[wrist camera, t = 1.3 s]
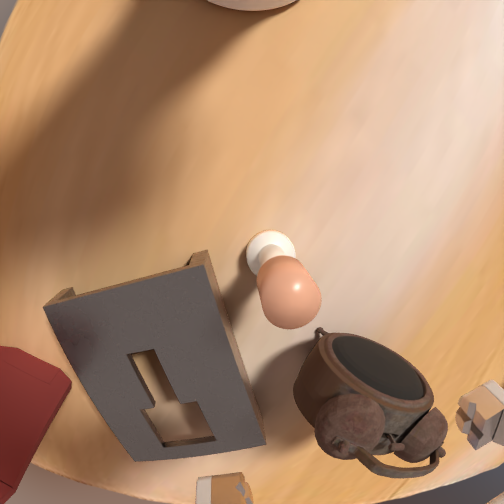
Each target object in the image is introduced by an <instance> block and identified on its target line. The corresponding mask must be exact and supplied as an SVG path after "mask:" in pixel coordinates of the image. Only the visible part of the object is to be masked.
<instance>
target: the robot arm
mask: <svg viewBox="0 0 504 504" xmlns="http://www.w3.org/2000/svg"><path fill="white" fill-rule="evenodd" d="M208 1H210V2H212V3H214V4H217V5H220V6H223V7H226V8H231V9H236V10H246V11H259V10H269V9H274V8H278V7H282V6H285V5H287V4H290V3H292V2H294V1H296V0H208ZM458 404H459V406H460V407H459V409H458V410H457V412H456V417H455V418H456V424H457V426H458V428H459V430H460V431H461V432H462V433H465V434H468V438H467V440H468V441H469V443H470V444H471V445H472V447H473V448H474V449H475V450H477V449H479V448H480V447H482V446H484V445H486V444H487V443H489V442H490V441H492V440H493V442H495V443H498V444H500V445H503V446H504V389H503V388H501V387H500V386H499V385H498V384H497V383H496V382H495V381H494V380H489V381H487V382H486V383H484V384H483V385H481V386H478V387H477V388H475V389H473V390H472V391H470V392H468V393H466V394H465V395H463V396H461V397H460V399H459V402H458ZM195 504H253V496H252V492H251V489H250V486H249V484H248V483H247V482H245V479H244V475H243V474H242V472H237V473H230V474H223V475H214V476H205V477H198V480H197V486H196V503H195ZM487 504H504V492H503V493H502V494H500V495H499V496H497V497H495V498H494V499H493V500H491V501H489V502H488V503H487Z"/></svg>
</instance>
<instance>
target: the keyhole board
mask: <svg viewBox="0 0 504 504" xmlns="http://www.w3.org/2000/svg"><path fill="white" fill-rule="evenodd" d="M43 309H44V311H45V313H46V315H47V318H48V320H49V322H50V324H51V326H52V328H53V330H54V332H55V334H56V337H57V339H58V341H59V343H60V345H61V347H62V348H63V350H64V352H65V354H66V356H67V358H68V360H69V362H70V364H71V365H72V367H73V369H74V371H75V373H76V374H77V376H78V378H79V380H80V381H81V383H82V385H83V386H84V388H85V390H86V391H87V393H88V395H89V396H90V398H91V400H92V401H93V403H94V404H95V406H96V407H97V409H98V411H99V412H100V414H101V415H102V417H103V418H104V420H105V421H106V423H107V424H108V426H109V427H110V429H111V430H112V431H113V433H114V434H115V436H116V437H117V438H118V440H119V441H120V443H121V444H122V445H123V447H124V448H125V449H126V451H127V452H128V453H129V455H130V456H131V457H132V459H133V460H134V461H154V460H167V459H178V458H187V457H196V456H203V455H211V454H217V453H224V452H230V451H236V450H241V449H246V448H252V447H257V446H261V445H266V439H265V432H264V425H263V418H262V415H261V413H260V410H259V407H258V404H257V401H256V398H255V396H254V393H253V390H252V387H251V384H250V381H249V378H248V375H247V372H246V369H245V366H244V364H243V361H242V358H241V355H240V352H239V349H238V346H237V342H236V339H235V336H234V333H233V330H232V327H231V324H230V321H229V318H228V315H227V312H226V308H225V305H224V302H223V299H222V296H221V293H220V289H219V286H218V283H217V280H216V276H215V273H214V270H213V267H212V263H211V260H210V257H209V253H208V250H204V251H201V252H197V253H193V256H192V258H191V261H190V264H189V265H188V266H184V267H181V268H177V269H173V270H169V271H166V272H162V273H158V274H154V275H151V276H147V277H143V278H139V279H136V280H132V281H128V282H124V283H121V284H117V285H113V286H109V287H106V288H102V289H98V290H94V291H91V292H87V293H83V294H79V295H75V292H74V290H73V287H70V288H67V289H63V290H62V291H60V292H59V293H58V294H57V295H56V296H55V297H54V298H52V299H51V300H50V301H49V302H48V303H47V304H46V305H44V306H43ZM151 349H154V350H155V352H156V354H157V357H158V359H159V361H160V363H161V365H162V367H163V369H164V372H165V374H166V376H167V378H168V380H169V382H170V384H171V386H172V388H173V390H174V392H175V394H176V396H177V398H178V400H179V402H180V404H183V403H189V402H195V401H197V403H198V405H199V407H200V409H201V411H202V413H203V415H204V417H205V419H206V421H207V423H208V425H209V427H210V429H211V431H212V433H213V435H214V436H209V437H202V438H195V439H188V440H180V441H171V442H164V441H163V439H162V437H161V436H160V434H159V433H158V431H157V430H156V428H155V426H154V425H153V423H152V421H151V420H150V418H149V417H148V415H147V413H146V411H145V410H144V409H149V408H154V407H155V403H156V402H155V400H154V398H153V396H152V394H151V393H150V391H149V389H148V387H147V385H146V383H145V381H144V379H143V377H142V375H141V374H140V372H139V370H138V368H137V366H136V364H135V362H134V359H133V357H132V355H131V353H135V352H141V351H146V350H151Z"/></svg>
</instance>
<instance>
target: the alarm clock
mask: <svg viewBox="0 0 504 504" xmlns="http://www.w3.org/2000/svg"><path fill="white" fill-rule="evenodd" d="M317 331H318V332H319V333H321V334H322V335H323V336H322V337H321V338H320V340H319V341H318V342H317V344H316V345H315V347H314V348H313V350H312V351H311V352H310V354H309V355H308V357H307V358H306V360H305V362H304V363H303V366H302V368H301V370H300V373H299V375H298V377H297V380H296V381H295V384H294V389H293V392H294V398H295V401H296V404H297V406H298V408H299V410H300V411H301V413H302V414H303V416H304V417H305V418H306V419H307V421H308V422H309V423H310V424H311V425H312V426H313V427H314V428H315V437H316V440H317V442H318V445H319V446H320V447H321V449H322V450H323V451H324V452H325V453H327V454H328V455H330V456H332V457H334V458H338V459H342V460H349V459H356V458H357V459H358V460H359V461H360V462H361V463H362V464H363V465H364V466H366V467H367V468H368V469H369V470H370V471H371V472H373V473H375V474H377V475H380V476H385V477H390V478H414V477H420V476H424V475H426V474H428V473H431V472H432V471H433V470H434V469H435V468H436V467H437V466H438V464H439V457H441V458H442V457H444V456H445V454H446V452H445V450H444V449H443V448H442V447H441V446H442V444H443V443H444V442H443V441H444V439H445V437H446V435H447V430H448V424H447V421H446V419H445V417H444V416H443V414H442V413H441V412H440V411H439V410H438V409H437V408H436V407H435V408H433V409H432V410H431V411H430V412H429V410H430V409H431V407H432V405H433V402H434V396H433V392H432V390H431V388H430V386H429V384H428V382H427V381H426V379H425V378H424V376H423V375H422V374H421V373H420V372H419V371H418V370H417V369H416V368H415V367H414V366H413V365H412V364H411V363H410V362H408V361H407V360H406V359H404V358H403V357H402V356H400V355H399V354H397V353H396V352H394V351H392V350H391V349H389V348H387V347H385V346H383V345H381V344H379V343H377V342H375V341H372V340H370V339H367V338H364V337H361V336H358V335H354V334H348V333H327V332H325V331H324V330H323V328H321V327H319V328H318V330H317ZM428 412H429V413H428ZM392 452H394V453H393V454H395V455H396V456H398V457H399V458H401V459H402V460H404V461H407V462H410V463H417V462H421V461H423V460H425V459H427V458H428V457H429V456H430V465H427V466H423V467H414V468H399V467H394V466H390V465H385V464H383V463H381V462H380V461H379V460H377V459H376V458H375V457H374V456H373V455H385V454H389V453H392Z"/></svg>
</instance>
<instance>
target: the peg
mask: <svg viewBox="0 0 504 504" xmlns="http://www.w3.org/2000/svg"><path fill="white" fill-rule="evenodd" d="M246 257H247V262H248V266H249V268H250V270H251V271H252V272H253V273H254V274H255V275H256V276H257V287H258V291H259V295H260V299H261V303H262V308H263V311H264V314H265V316H266V318H267V319H268V320H269V321H270V322H271V323H272V324H273V325H275V326H277V327H279V328H283V329H296V328H299V327H302V326H304V325H306V324H308V323H309V322H310V321H312V320H313V319H314V317H315V316H316V315H317V313H318V311H319V309H320V306H321V293H320V290H319V288H318V286H317V285H316V283H315V282H314V280H313V279H312V278H311V276H310V275H309V273H308V272H307V271H306V269H305V268H304V266H303V265H302V264H301V263H300V262H299V261H298V260H297V259H295V257H296V256H295V249H294V246H293V244H292V243H291V241H290V240H289V239H288V238H287V237H286V236H285V235H284V234H283V233H281V232H279V231H276V230H265V231H261V232H259V233H257V234H256V235H255V236H253V238H252V239H251V240H250V241H249V243H248V246H247V249H246Z"/></svg>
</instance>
